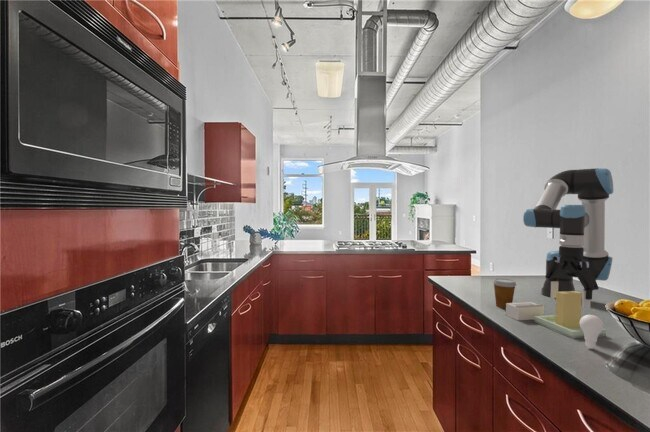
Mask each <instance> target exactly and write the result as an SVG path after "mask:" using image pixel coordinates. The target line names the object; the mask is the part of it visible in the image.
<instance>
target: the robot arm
mask: <svg viewBox="0 0 650 432" xmlns="http://www.w3.org/2000/svg"><path fill="white" fill-rule="evenodd" d="M613 193H614V181H613V176H612V172H611V170H609V169H608V168H596V167H595V168H580V169H567V170H564V171H561V172H558V173H557V174H555V175H553V176H552V177H550V178H549V179H548V180H547V181H546V182H545V184H544V191H543V192H542V195H541V196H540V198H539V199H538V201H537V203H536V205H535V206H534V208H528V209H525V210H524V211H523V214H522V215H523V217H522V218H523V219H522V220H523V225H524V226H526V227H531V228H547V229H549V228H550V229H559V240H558V241H559V243H558V244H559V245H560V246H558V250H551V251H549V252H547V253H546V259H545V262H546V263H545V276H544V277H545V280H544V282H543V286H542V287H541V288H540V289H541V292H540V294H541V295H543V296H545V297H550V299H556V293H557V292H562V291H576V290H575V285H574V281H573V280H574V278H577V279H578V280H579V282H580V284H581V285H582V287H583V288H584V289H582V292H581V293H582V300H581V309H591V300H593V291H595V290H596V291H597V290H599V285H598V282H597V281H607V280H608V279H609V277H610V274H611V269H612V264H613V257H612V256H609V252H608V251H606V249H605V240H606V239H605V238H606V237H605V236H606V235H605V232H606V231H605V227H606V226H605V220H606V219H605V217H606V215H605V212H606V211H605V210H606V208H605V206H606V205H605V204H606V201H607V200H608V199H609V198H610V195H612V194H613ZM566 195H577V199H578V200H579V201H580V202H581V204H562V205H561V206H560V209H557V208H558V206H559V204H560V202H561V200H562V198H563V197H565V196H566Z"/></svg>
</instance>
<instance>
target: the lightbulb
mask: <svg viewBox="0 0 650 432" xmlns="http://www.w3.org/2000/svg"><path fill="white" fill-rule="evenodd" d="M580 327H581V329H582V330H583V332H584V336H585V338H584V340H585V347H586V348H588V350H593V349H596V345H597V341H598V338H599V337H598V335H599V334H600V333H601V331H602V330H603V328H604V322H603V321H602V320H601V318H599V317H598V316H596V315H593V314H586V315H583V316H581V319H580Z"/></svg>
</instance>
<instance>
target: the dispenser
mask: <svg viewBox="0 0 650 432" xmlns="http://www.w3.org/2000/svg"><path fill="white" fill-rule="evenodd" d="M505 316H507V317H510V318H512V319H514V320H516V321H532V320H534V321H535V316H545V306H544V305H543V304H538V303H535V302H532V301H526V302H525V301H524V302H512V303H506V308H505Z"/></svg>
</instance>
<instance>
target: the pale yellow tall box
mask: <svg viewBox="0 0 650 432" xmlns="http://www.w3.org/2000/svg"><path fill="white" fill-rule="evenodd" d="M555 299H556V300H555V315H556V322H555V323H556V324H558V325H561V326H563V327H566V328H580V319H581V318H582V292H579V291H576V290H575V291H562V292H557V293H556V298H555Z"/></svg>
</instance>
